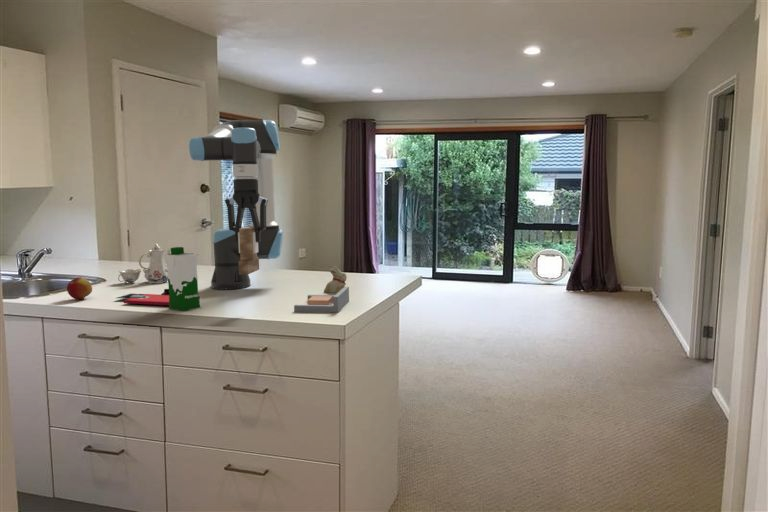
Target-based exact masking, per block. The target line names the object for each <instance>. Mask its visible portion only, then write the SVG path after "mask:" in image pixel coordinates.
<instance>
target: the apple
mask: <svg viewBox="0 0 768 512" xmlns="http://www.w3.org/2000/svg"><path fill="white" fill-rule="evenodd" d="M66 291H67V294H68V295H69V296H70V297H71V298H72V299H75V300H77V299H78V300H77V301H79V300H80V299H81V300H83V299H84V298H86V297H88V296H90V294H91V293H92V292H93V286H92V284H91V282H90V281H89V280H88V279H86V278H85V277H82V276H81V277H76V278H73V279H72V280H71V279H70V281H69V282H68V283H67V285H66Z"/></svg>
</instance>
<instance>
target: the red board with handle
mask: <svg viewBox="0 0 768 512" xmlns="http://www.w3.org/2000/svg"><path fill="white" fill-rule="evenodd" d="M163 290H164V291H163V292H162V293H161V294H155V293H154V294H153V293H150V294H149V293H128V294H124V295H121V296H118V297H116V299H123V304H132V305H133V304H136V305H137V304H138V305H154V306H155V305H156V306H157V305H158V306H169V288H164V289H163ZM199 300H201V296H199Z"/></svg>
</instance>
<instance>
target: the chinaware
mask: <svg viewBox="0 0 768 512" xmlns="http://www.w3.org/2000/svg"><path fill="white" fill-rule="evenodd" d="M168 254H171V248H168V250H167V251H166V255H168ZM144 256H146V257H147V258H149V263H148V267H144V266H143V265H142V262H141V260H142V258H143V257H144ZM138 265H139V266H140V268H142V269H139V268H137V269H133V268H132V269H130V268H129V269H126V270H119V271H118V272H119V274H118V276H117V280H118V281H119V282H121V283H123V282H124V284H126V283H134V284H136V283H135V282H136V281H138V279H139V278H140V274H141V272H142V271H143V273H144V274H143V275H144V276H143V277H144V278H145V279H146V281H147V284H150V283H160V284H162V283H161V282H167V281H168V269H167V263H166V259H165V249H162V248H161V246H159V245H158V243H155V244H154V246H153V247H152V249H150V250H148V252H146V253H143V254H141V255H140V257H139V258H138ZM120 276H121V278H122V279H123V280H120ZM167 283H168V282H167Z"/></svg>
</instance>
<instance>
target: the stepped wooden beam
mask: <svg viewBox="0 0 768 512" xmlns="http://www.w3.org/2000/svg"><path fill="white" fill-rule="evenodd" d="M254 231H255V230H254V227H249V226H248V227H244V226H243V228H239V235H240V259H241V261H239V274H248V275H250V274H252V273H255V272H257V271H259V270H260V259H259V257H257V253H253V232H254Z"/></svg>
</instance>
